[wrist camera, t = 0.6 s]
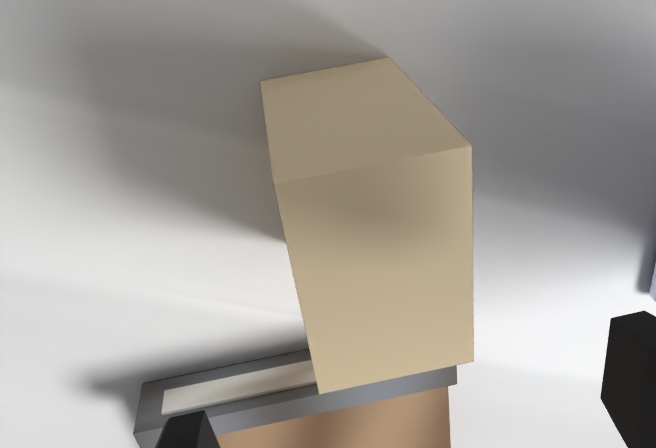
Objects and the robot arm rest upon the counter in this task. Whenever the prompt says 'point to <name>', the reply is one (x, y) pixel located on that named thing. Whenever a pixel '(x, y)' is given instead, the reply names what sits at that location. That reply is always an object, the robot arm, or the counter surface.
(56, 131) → the counter surface
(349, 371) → the box
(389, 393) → the tan tray
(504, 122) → the counter surface
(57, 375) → the counter surface
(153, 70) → the counter surface
